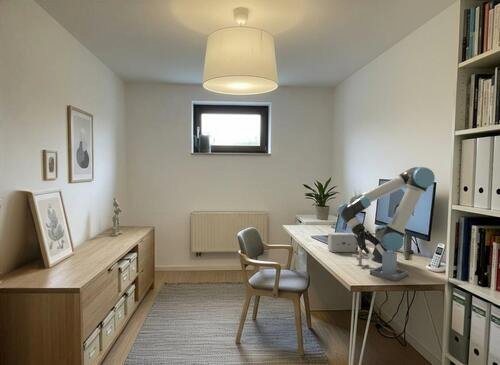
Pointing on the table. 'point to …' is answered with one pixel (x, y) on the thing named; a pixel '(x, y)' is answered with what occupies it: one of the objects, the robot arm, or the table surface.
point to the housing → (378, 272)
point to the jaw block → (389, 262)
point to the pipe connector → (360, 257)
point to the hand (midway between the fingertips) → (378, 256)
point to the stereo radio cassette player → (342, 242)
